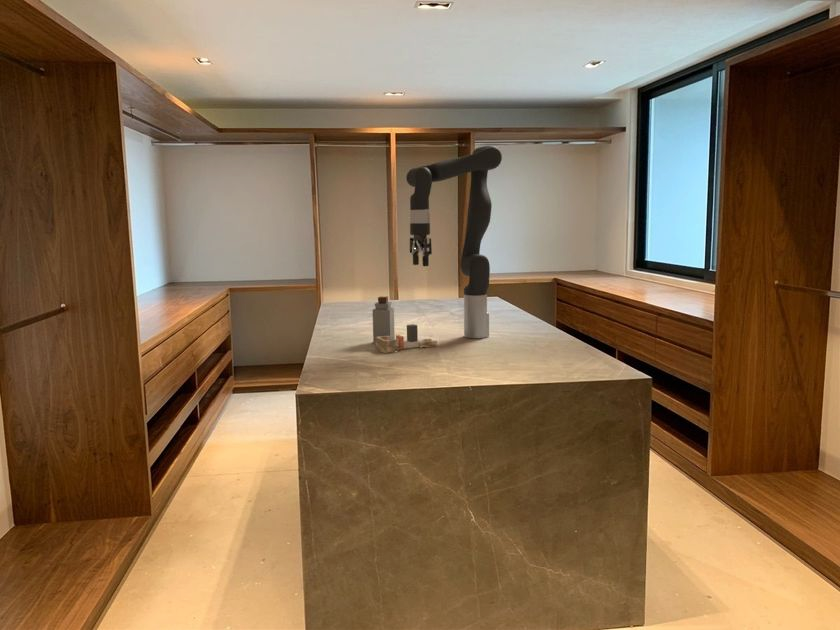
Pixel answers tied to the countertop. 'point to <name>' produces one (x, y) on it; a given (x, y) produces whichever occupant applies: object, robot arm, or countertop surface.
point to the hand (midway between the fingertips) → (420, 265)
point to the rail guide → (427, 343)
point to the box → (386, 344)
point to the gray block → (409, 338)
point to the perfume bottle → (383, 319)
